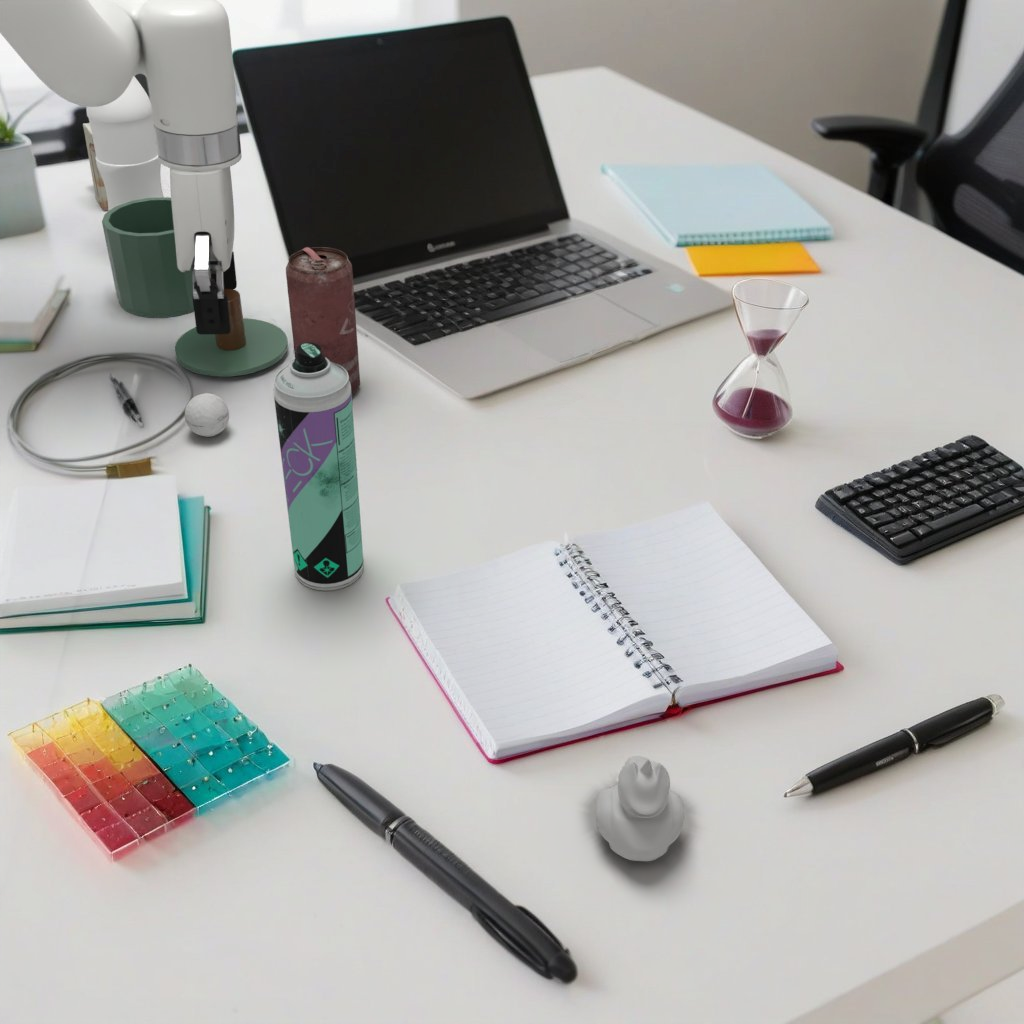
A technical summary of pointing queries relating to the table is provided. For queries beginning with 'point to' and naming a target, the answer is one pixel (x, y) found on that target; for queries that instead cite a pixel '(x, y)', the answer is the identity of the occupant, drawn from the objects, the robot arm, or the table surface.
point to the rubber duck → (640, 811)
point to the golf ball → (206, 414)
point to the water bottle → (126, 147)
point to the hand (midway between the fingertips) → (217, 309)
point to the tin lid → (232, 345)
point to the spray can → (319, 469)
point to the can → (324, 306)
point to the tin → (147, 259)
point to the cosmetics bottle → (95, 169)
